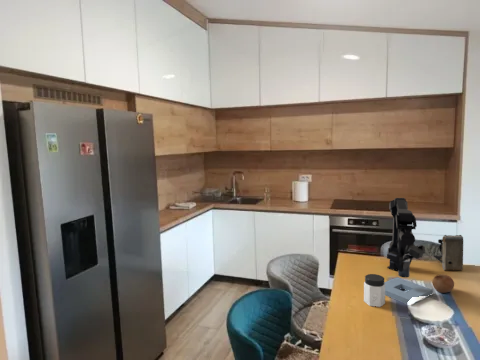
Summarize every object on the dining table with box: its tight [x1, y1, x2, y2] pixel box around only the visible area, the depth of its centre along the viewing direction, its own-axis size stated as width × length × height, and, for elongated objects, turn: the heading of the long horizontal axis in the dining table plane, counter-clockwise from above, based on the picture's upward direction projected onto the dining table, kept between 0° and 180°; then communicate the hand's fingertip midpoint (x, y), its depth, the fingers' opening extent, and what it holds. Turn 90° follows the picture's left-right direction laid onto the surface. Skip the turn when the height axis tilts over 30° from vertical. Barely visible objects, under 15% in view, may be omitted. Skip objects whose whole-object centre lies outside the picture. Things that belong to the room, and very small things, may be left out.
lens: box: [397, 256, 411, 278], centre depth 160 cm, size 5×5×9 cm
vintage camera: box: [433, 234, 464, 272], centre depth 190 cm, size 10×16×20 cm, turn 174°
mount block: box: [384, 276, 434, 305], centre depth 162 cm, size 18×18×2 cm
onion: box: [431, 273, 455, 294], centre depth 161 cm, size 9×9×10 cm
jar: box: [363, 273, 386, 308], centre depth 153 cm, size 9×8×12 cm
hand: (403, 270), depth 160 cm, fingers closed on lens, 5 cm apart
